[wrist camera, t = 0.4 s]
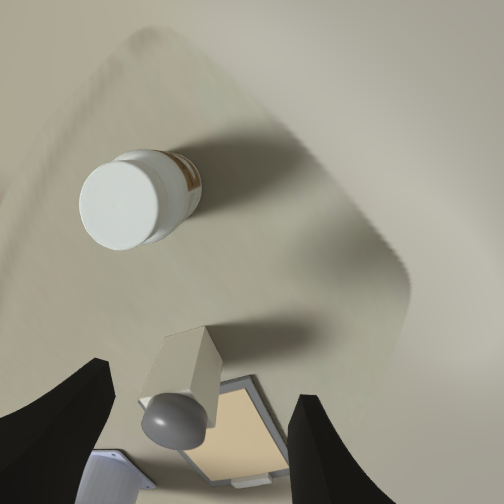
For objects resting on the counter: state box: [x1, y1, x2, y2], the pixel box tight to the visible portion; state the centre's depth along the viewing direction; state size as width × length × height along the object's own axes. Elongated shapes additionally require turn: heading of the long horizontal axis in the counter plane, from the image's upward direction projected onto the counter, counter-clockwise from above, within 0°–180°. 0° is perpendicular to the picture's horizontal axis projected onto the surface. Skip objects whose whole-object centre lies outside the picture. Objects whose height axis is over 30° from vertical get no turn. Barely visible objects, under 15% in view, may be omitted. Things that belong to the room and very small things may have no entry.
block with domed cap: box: [139, 326, 223, 450], centre depth 17 cm, size 3×3×8 cm
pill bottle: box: [79, 149, 202, 250], centre depth 14 cm, size 4×4×8 cm
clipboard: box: [138, 375, 290, 489], centre depth 24 cm, size 10×15×1 cm, turn 20°
